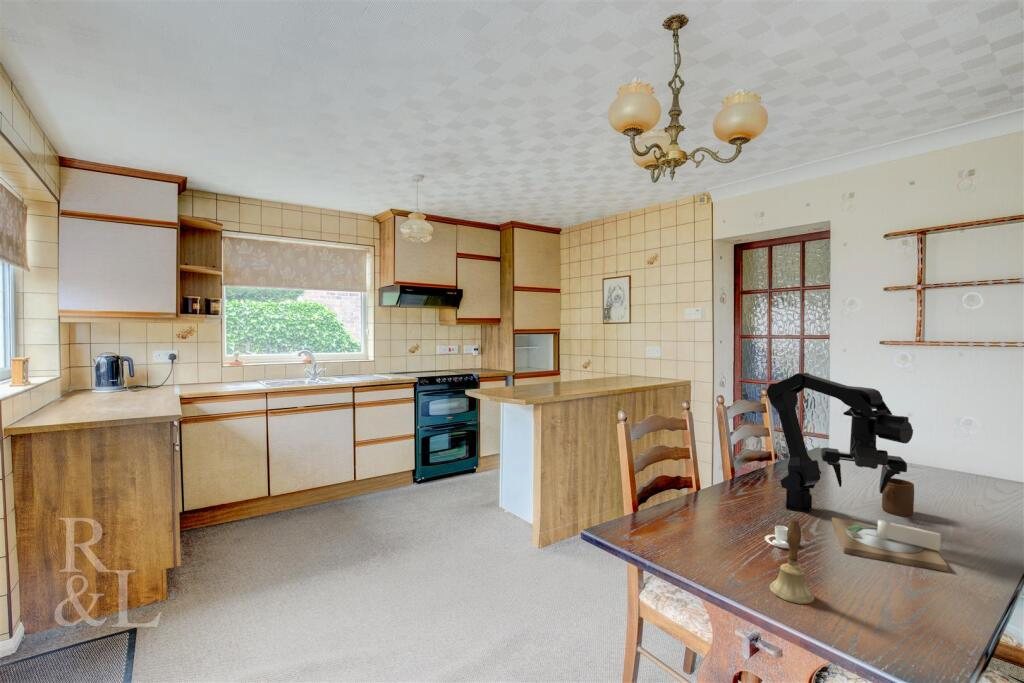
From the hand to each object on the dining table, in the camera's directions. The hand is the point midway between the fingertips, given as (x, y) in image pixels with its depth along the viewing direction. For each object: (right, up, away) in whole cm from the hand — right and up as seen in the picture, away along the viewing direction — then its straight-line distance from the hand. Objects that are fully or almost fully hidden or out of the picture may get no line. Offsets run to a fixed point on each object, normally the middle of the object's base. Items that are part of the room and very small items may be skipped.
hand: (860, 489), depth 133 cm
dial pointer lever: (+2, -10, -9) cm, 14 cm away
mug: (+20, -11, +13) cm, 26 cm away
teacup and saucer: (-28, -12, -6) cm, 32 cm away
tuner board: (0, -12, -8) cm, 14 cm away
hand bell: (-37, -13, -31) cm, 50 cm away
